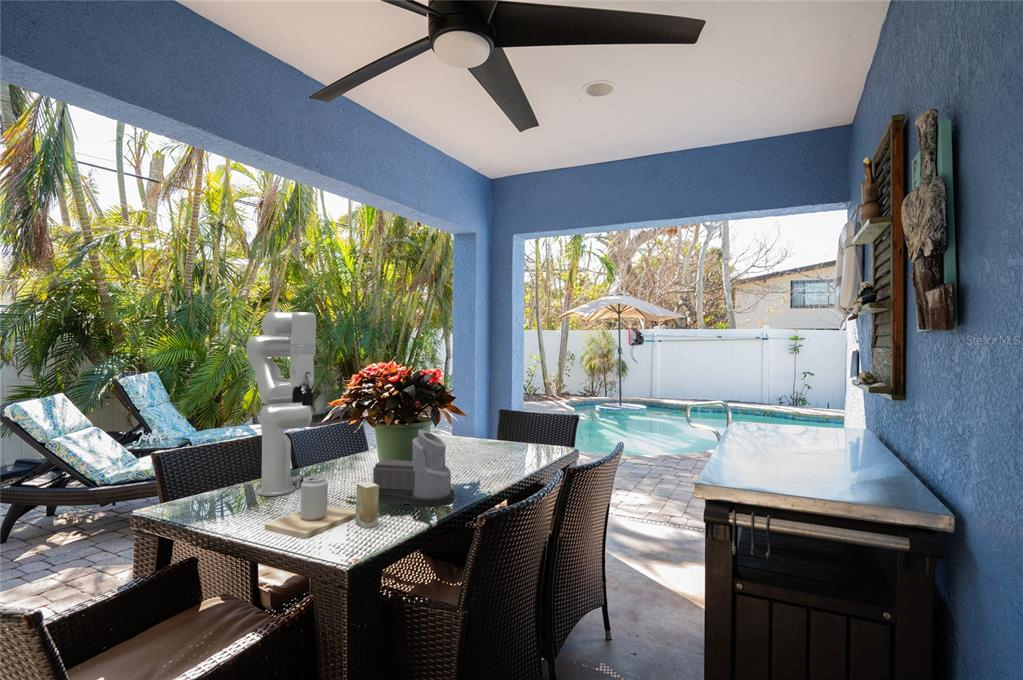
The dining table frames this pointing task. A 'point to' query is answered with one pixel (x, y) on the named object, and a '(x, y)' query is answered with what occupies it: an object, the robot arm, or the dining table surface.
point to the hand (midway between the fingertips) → (302, 404)
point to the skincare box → (367, 504)
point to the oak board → (311, 523)
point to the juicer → (416, 475)
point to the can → (314, 498)
